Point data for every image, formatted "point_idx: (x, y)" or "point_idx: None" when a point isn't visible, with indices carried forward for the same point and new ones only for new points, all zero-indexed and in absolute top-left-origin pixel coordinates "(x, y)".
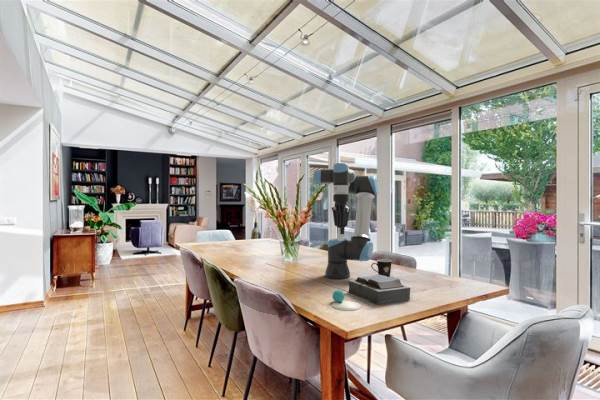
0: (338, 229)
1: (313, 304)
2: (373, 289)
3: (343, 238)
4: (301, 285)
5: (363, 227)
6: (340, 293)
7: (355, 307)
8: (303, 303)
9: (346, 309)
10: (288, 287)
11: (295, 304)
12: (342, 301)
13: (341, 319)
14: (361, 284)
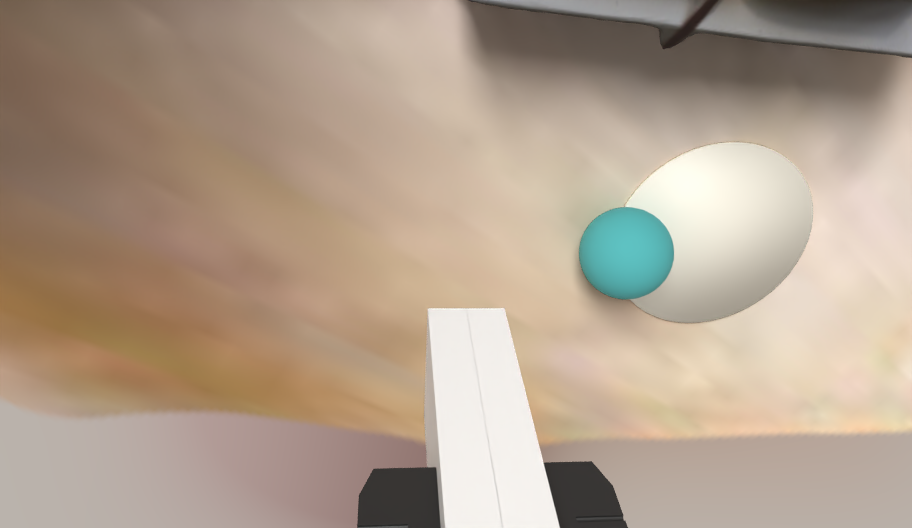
0: None
1: (547, 378)
2: (883, 49)
3: (509, 346)
4: (32, 218)
5: None
6: (667, 274)
7: (781, 217)
8: None
9: (761, 285)
10: (67, 332)
11: None
12: None
13: (831, 383)
14: (696, 22)
